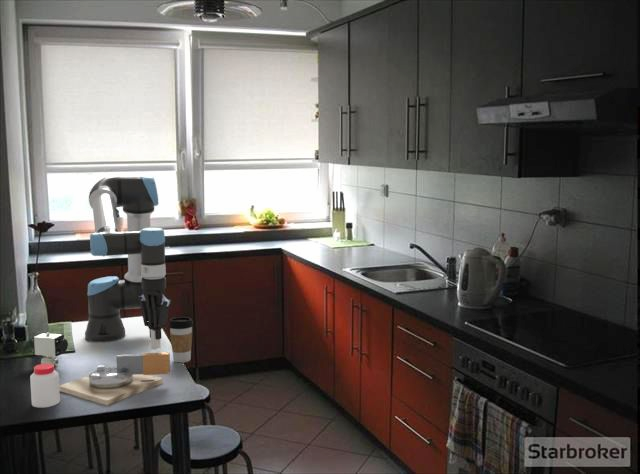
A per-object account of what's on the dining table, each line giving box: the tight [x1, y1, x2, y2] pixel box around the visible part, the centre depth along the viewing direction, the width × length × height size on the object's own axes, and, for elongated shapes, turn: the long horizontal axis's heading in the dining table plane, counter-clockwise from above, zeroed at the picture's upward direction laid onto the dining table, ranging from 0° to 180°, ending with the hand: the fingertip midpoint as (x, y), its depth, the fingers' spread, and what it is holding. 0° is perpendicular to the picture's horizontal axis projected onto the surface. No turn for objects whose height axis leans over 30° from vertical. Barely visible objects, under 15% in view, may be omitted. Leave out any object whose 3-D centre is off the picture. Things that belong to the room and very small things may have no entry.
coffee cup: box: [168, 316, 194, 363], centre depth 232 cm, size 8×8×15 cm
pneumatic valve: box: [29, 332, 69, 367], centre depth 225 cm, size 6×12×12 cm, turn 78°
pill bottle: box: [29, 363, 61, 409], centre depth 193 cm, size 8×8×11 cm
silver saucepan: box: [88, 352, 171, 389], centre depth 207 cm, size 24×13×8 cm, turn 96°
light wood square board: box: [59, 365, 164, 406], centre depth 207 cm, size 22×22×2 cm
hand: (155, 348), depth 214 cm, fingers closed
